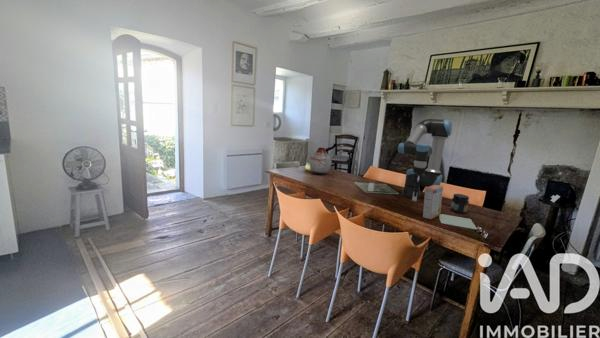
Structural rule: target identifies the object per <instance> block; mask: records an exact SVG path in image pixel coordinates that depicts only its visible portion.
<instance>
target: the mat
mask: <svg viewBox="0 0 600 338" xmlns="http://www.w3.org/2000/svg"><path fill="white" fill-rule="evenodd" d="M438 218H439V221H440V223H441V224H445V225H447V226H448V225H449V226H455V227H459V228H465V229H470V230H476V229H478V227H476V225H475V223H474V222H473V221H472V219H471V218H466V217H460V216H455V215H450V214H443V213H442V214H441V213H440V216H438Z"/></svg>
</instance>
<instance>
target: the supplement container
mask: <svg viewBox="0 0 600 338" xmlns="http://www.w3.org/2000/svg"><path fill="white" fill-rule="evenodd" d="M469 199H470V196H468V195H466V194H462V193H454V194H453V197H452V199H451V204H450V211H452V212H454V213H456V214H467V211H468V208H469V203H470V201H469Z"/></svg>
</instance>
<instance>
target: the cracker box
mask: <svg viewBox="0 0 600 338" xmlns="http://www.w3.org/2000/svg"><path fill="white" fill-rule="evenodd" d="M443 190H444V186H443V185H440V186H439V185H432V186H429V187H424V198H423V211H422V218H424V219H426V220H427V219H428V220H430V221H431V220H433V219H435V218H439V216H440V214H441V211H442V210H441V209H442V201H443Z"/></svg>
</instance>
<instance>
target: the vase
mask: <svg viewBox="0 0 600 338" xmlns="http://www.w3.org/2000/svg"><path fill="white" fill-rule="evenodd" d="M331 167H332V157H331V155H329V153H328V152H327V151H326V147H318V148H317V150H316V151H315V152H314V153H312V155H311V156H310V157H309V168H310V170H311V171H312V173H313V174H315V175H317V176H319V175H320V176H324V175H326V174H327V173H329V171H330V169H331Z"/></svg>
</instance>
